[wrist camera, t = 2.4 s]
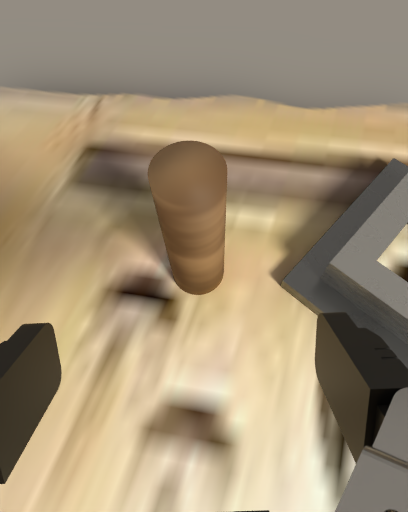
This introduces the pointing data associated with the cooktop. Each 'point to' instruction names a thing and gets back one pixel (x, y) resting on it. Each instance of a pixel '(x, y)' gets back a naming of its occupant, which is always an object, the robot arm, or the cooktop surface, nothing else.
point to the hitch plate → (331, 249)
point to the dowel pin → (191, 212)
